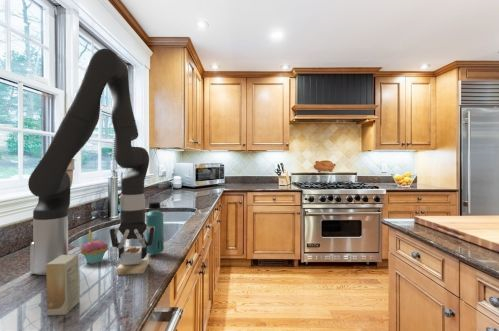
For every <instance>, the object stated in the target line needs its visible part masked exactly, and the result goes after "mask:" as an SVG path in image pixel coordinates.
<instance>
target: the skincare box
mask: <svg viewBox="0 0 499 331" xmlns="http://www.w3.org/2000/svg"><path fill="white" fill-rule="evenodd" d="M79 273H80V271H79V254H68V255H60V256H59V257H57V258H55V259H54V260H52V261H51V262H49V263H48V264H46V315H47V316H65V315H67V314H68V313H69V312H70V311H71V310H72V309H73V308H74V307H75V306H76V305H77V304H78V303H79V302H80V282H79V281H80V279H79V278H80V275H79Z"/></svg>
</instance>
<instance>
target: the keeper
mask: <svg viewBox="0 0 499 331" xmlns="http://www.w3.org/2000/svg"><path fill="white" fill-rule="evenodd" d="M129 248H130V252H136V248H137V246H133V247H132V246H131V247H129ZM148 264H149V258H147V257H145V258H144V259H143V261H142V263H141V264H129V265H121V262H120V264H119V265H118V266H117V267H116V275H118V276H119V275H120V276H122V275H134V274H135V275H136V274H138V275H139V274H144V273H145V272H146V269H147V267H148Z"/></svg>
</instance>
